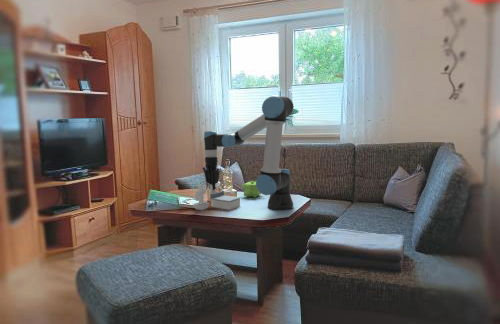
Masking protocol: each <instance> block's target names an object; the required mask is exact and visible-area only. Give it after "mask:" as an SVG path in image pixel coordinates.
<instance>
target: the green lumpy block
mask: <svg viewBox="0 0 500 324" xmlns="http://www.w3.org/2000/svg"><path fill="white" fill-rule="evenodd" d="M241 188H242V189H243V197H246V198H250V197H253V198H257V197H259V196H260V195H261V193H260V192H259V190H258V189H257V187H256V180H255V181H254V180H250V181H248V182H246V183H243V184H241Z"/></svg>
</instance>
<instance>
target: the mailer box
mask: <svg viewBox="0 0 500 324" xmlns="http://www.w3.org/2000/svg"><path fill="white" fill-rule="evenodd" d="M210 201H211V203H210V204H211V208H216V209H223V210H234V209H237V208H239V207H241V198H240V199H237V200H234V201H231V202H226V201H219V200H212V199H210Z"/></svg>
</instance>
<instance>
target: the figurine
mask: <svg viewBox="0 0 500 324" xmlns="http://www.w3.org/2000/svg"><path fill="white" fill-rule="evenodd" d="M205 194H207V185H206V184H198V185H197V191H195V193H194V199H195V201H196V202H195V203H193V204H192V206H193V207H194V209H195V210H199V211H204V210H206V209H208V207H209V205H210V204H211V203H210V202H205V201H204V195H205Z"/></svg>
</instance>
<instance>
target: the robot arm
mask: <svg viewBox="0 0 500 324" xmlns="http://www.w3.org/2000/svg"><path fill="white" fill-rule="evenodd" d="M261 105H262V106H261V111H262V114H261V115H260V116H258V117H257V118H255V119H254V120H252V121H251V122H249V123H247V124H246V125H244V126H243V127H241V128H240V129H238V130H237V131H235V132H233V133H222V134H220V133H219V134H218V133H217V131H216V130H206V131H204V134H203V136H204V137H203V141H204V163H205V166H204V167H202V170H203V173H204V178H205V182H206V184H208V187H209V188H208V189H209V190H210V192H209V193H210V194H213V193H216V189H217V188H216V184H218V183H219V178H220V172H221V170H222V168H221V167H219V166H218V163H219V161H218V157H217V156H218V148H233V147H234V146H240V145H242V144H244V142H245V141H247V140H248V139H250V138H251V137H253V136H255V135H256V134H258V133H260V132H261V131H263V130H264V129H266V132H265V141H264V142H265V144H264V155H263V166H262V167H261V168H260V169H259V176H257V178H256V179H255V181H256V187H257V189H258V190H259V192H260V193H261V194H262V195H263V196H269V199H268V201H267V208H268V209H269V210H270V209H271V210H275V211H276V210H277V211H284V209H287V210H291V209H293V208H294V202H293V198H292V196H291V195H292V194H291V171H290V169H288V168H280V161H281V157H280V156H281V150H282V149H281V147H282V135H283V126H284V124H285V123H286V122H287V118H288V117H289V116H291V114H292V113H293V111H294V107H295V106H294V103H293V101H292V99H291V98H289V97H288V96H282V95H270V96H268V97H267V98H266V99H264V101H263V102H262V104H261ZM210 194H209V195H210ZM261 194H260V195H261ZM292 207H293V208H292ZM290 208H291V209H290Z"/></svg>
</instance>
